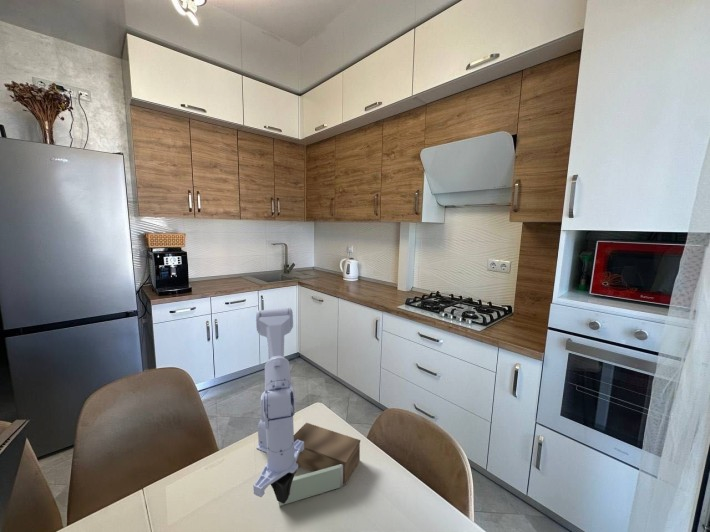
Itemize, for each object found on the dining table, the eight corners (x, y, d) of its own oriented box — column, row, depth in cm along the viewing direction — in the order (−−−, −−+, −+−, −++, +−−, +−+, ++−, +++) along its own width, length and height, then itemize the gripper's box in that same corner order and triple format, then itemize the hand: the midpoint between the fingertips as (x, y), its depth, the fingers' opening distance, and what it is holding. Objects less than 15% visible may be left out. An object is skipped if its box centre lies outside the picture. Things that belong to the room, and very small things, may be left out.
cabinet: (288, 461, 84) (288, 441, 83) (306, 441, 92) (306, 422, 91) (346, 485, 76) (345, 462, 75) (360, 460, 84) (360, 440, 83)
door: (342, 483, 76) (342, 463, 75) (344, 489, 74) (344, 469, 74) (278, 502, 71) (277, 481, 70) (279, 509, 69) (278, 488, 68)
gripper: (272, 473, 55) (274, 537, 57) (314, 427, 68) (315, 481, 70) (244, 461, 58) (247, 522, 60) (290, 419, 71) (291, 471, 73)
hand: (282, 499), depth 65 cm, fingers closed
